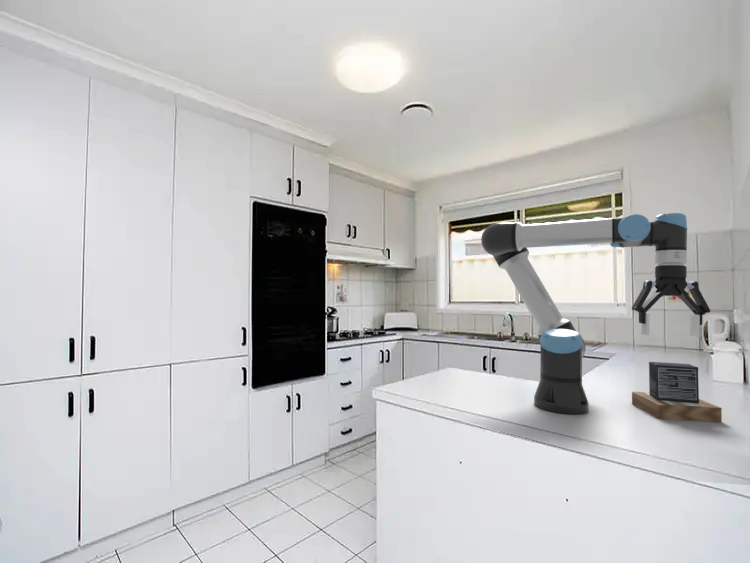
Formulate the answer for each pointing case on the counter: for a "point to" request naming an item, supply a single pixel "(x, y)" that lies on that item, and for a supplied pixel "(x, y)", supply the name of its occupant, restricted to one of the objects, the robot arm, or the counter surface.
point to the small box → (673, 382)
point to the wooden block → (677, 408)
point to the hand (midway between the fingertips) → (669, 335)
